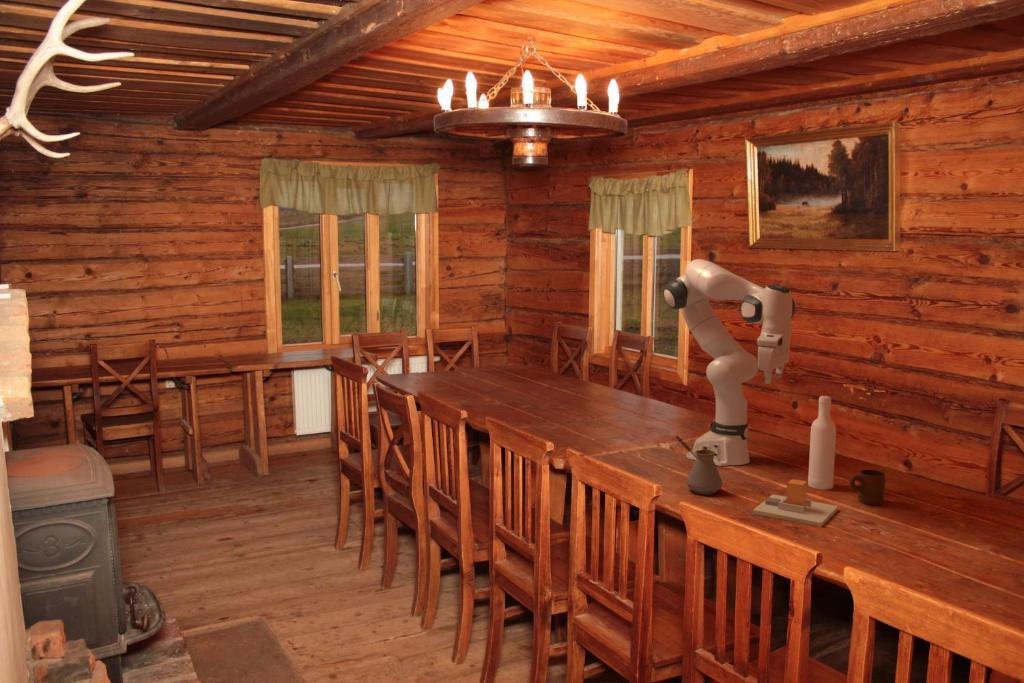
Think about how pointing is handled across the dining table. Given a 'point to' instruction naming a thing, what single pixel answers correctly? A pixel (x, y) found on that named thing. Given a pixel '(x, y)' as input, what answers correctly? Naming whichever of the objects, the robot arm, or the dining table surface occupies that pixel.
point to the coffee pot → (703, 472)
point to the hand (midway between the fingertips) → (773, 380)
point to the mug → (869, 486)
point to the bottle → (822, 448)
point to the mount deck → (796, 511)
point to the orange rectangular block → (797, 492)
